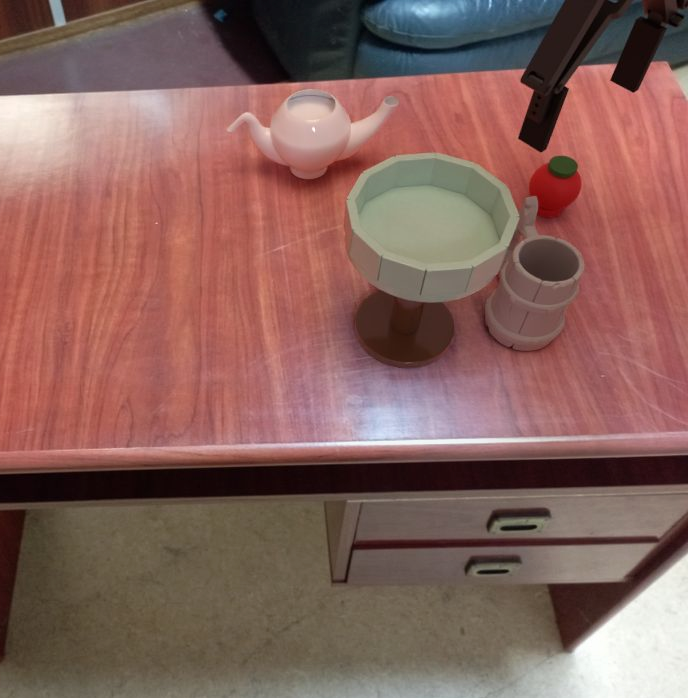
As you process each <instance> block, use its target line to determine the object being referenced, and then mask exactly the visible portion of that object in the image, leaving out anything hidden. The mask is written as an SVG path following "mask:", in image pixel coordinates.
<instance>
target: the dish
mask: <svg viewBox="0 0 688 698" xmlns="http://www.w3.org/2000/svg"><path fill="white" fill-rule="evenodd" d="M518 211H519V210H518V209H517V205H516V203H515V201H514V199H513V196H512V194H511V191H510V189H509V187H508V185H507V184H505V183H504V182H503V181H502V180H500V179H499V178H497V177H496V176H495V175H493V174H492V173H491V172H489V171H488V170H487V169H485V167H483V166H482V165H480V164H479V163H476V162H475V161H471V160H468V159H464V158H459V157H456V156H452V155H449V154H445V153H440V152H435V151H433V152H420V153H418V152H417V153H408V154H407V153H406V154H396V155H395V156H394V155H393V156H390V157H388V158H386V159H385V160H383V161H381V162H379V163H377V164H374V165H373V166H371V167H369V168H367V169H365V170H363V171H362V172H361V173H360V174H359V176H358V177H357V179H356V181H355V182H354V184H353V186H352V188H351V190H350V191H349V193H348V195H347V196H346V199H345V206H344V215H343V217H344V218H343V225H342V227H343V231H344V248H345V251H346V255H347V257H348V260H349V261H350V263H351V265H352V266H353V268H354V269H355V271H356V272H357V273H358V274H359V275H360V276H361V277H362V278H363V279H364V280H365V281H366V282H368V284H371V285H372V286H373V287H375V288H377V290H375V291H374V292H372V293H371V294H369V295H368V296H366V297H365V299H364V300H363V301H362V302H361V303H360V304H359V306H358V308H357V310H356V313H355V319H354V332H355V336H356V339H357V341H358V343H359V344H360V346H361V347H362V348H363V350H364V351H365V352H366V353H367V354H368V355H369V356H371V357H372V358H373V359H375V360H376V361H378V362H380V363H382V364H384V365H387V366H391V367H395V368H400V369H401V368H402V369H414V368H422V367H425V366H428V365H430V364H432V363H435V362H436V361H438V360H440V358H442V356H444V355H445V354H446V352H447V351H448V350H449V348H450V346H451V344H452V342H453V341H452V340H453V337H454V333H455V323H454V319H453V316H452V314H451V312H450V310H449V308H448V307H447V306H446V305H445V302H453V301H456V300H460V299H464V298H466V297H469V296H472V295H473V294H475V293H477V292H479V291H481V290H483V288H485V287H487V286H488V285H489V284H490V283H491V282H492V281H493V280H494V279H495V278H496V276H497V275H498V273H500V272H499V271H500V268H501V266H502V264H503V261H504V258H505V256H506V253H507V251H508V248H509V246H510V243H511V240H512V238H513V235H514V232H515V230H516V227H517V224H518V222H519V219H520V218H519V217H520V216H519V213H518Z"/></svg>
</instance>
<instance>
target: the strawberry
mask: <svg viewBox="0 0 688 698" xmlns="http://www.w3.org/2000/svg"><path fill="white" fill-rule="evenodd" d="M578 169H579V164H578V162H577V161H576V159H574V158H572V157H571V156H567V155H555V156H553V157H551V158H550V159H549V161H548V162H547V163H545V164H542V165H541V166H539V167H538V168H537V169H536V170H535V171H534V172H533V174H532V175H531V177H530V180H529V183H528V192H529V193H528V194H529V197H531V196H536V197H537V199H538V211H537V215H538V216H539V217H543V218H555V217H558V216H559V215H561V213H562V212H563V210H564V209H565V208H567V207H569V206H571V204H572V203H574V202H575V201H576V199H577V198H578V197H579V195H580V192H581V190H582V177H581V174H580V173H579V171H578Z"/></svg>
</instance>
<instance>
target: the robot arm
mask: <svg viewBox="0 0 688 698" xmlns="http://www.w3.org/2000/svg"><path fill="white" fill-rule="evenodd" d="M634 1H635V0H615V2H613V1H611V0H563V3H562V5H561V6H560V8H559V10H558V12H557V13H556V15H555V17H554V19H553V20H552V22H551V24H550V26H549V27H548V29H547V31H546V32H545V34H544V36H543V38H542V40H541V42H540V43H539V45H538V47H537V48H536V50H535V52H534V54H533V55H532V58H531V59H530V61H529V63H528V65H527V66H526V69H525V71H523V74H522V75H521V78H520V81H519V82H520V83H521V84H522V85H524V86H526V87H527V88H529V89H531V90H533V92H532V95H531V97H530V101H529V103H528V107H527V110H526V112H525V115H524V119H523V122H522V125H521V128H520V130H519V134H518V137H517V139H518V140H520V141H521V142H522V143H524V144H526V145H527V146H529V147H531V149H532V148H533V149H534V150H536V151H537V152H539V154H540V153H543V152H545V151H546V150H547V149H548V146H549V143H550V142H551V138H552V136H553V132H554V130H555V129H556V125H557V123H558V119H559V117H560V114H561V112H562V109H563V106H564V104H565V101H566V98H567V96H568V93H569V91H570V88H568V87H567V86H566V85H567V83H568V82H569V81H570V79H571V78H572V77H573V75H574V74H575V72H576V70H578V68H579V67H580V65H581V64H582V63H583V61H584V60H585V58H586V57H587V56H588V55H589V53H590V51H591V50H592V49H593V48H594V46H595V44H596V43H597V42H598V40H599V39H600V38H601V36H602V35H603V34H604V32H605V31H606V29H608V27H609V25H610V24H611V23H612V22H613V20H616V19H620V18H621V17H623V16H624V15H625V13H626V12H627V11H628V9H629V8H630V6H631V5H632V4H633V2H634ZM641 2H642V8H643V13H644V15H646V16H647V17H644V16H642V15H641V16H639V17H638V18H636V19H635V21H634V23H633V26H632V28H631V29H630V30H631V31H630V32H629V34H628V37H627V40H626V42H625V44H624V46H623V49H622V51H621V53H620V56H619V58H618V61H617V62H616V65H615V68H614V70H613V73H612V75H611V77H610V78H609V79H610V80H609V81H610V82H612V83H614V84H616V85H617V86H619V87H621V88H624V90H627V91H629V92H631V93H633V94H634V93H636V92H637V91H639V90H640V87H641V85H642V83H643V80H644V79H645V77H646V74H647V72H648V70H649V68H650V66H651V63H652V62H653V59H654V57H655V55H656V53H657V50H658V48H659V47H660V44H661V43H662V41H663V38H664V36H665V34H666V32H667V29H668V27H667V26H669V27H672V28H674V29H677V28H679V27H680V26H681V25H682V23H683V22H684V20H685V18H686V15H685V14H683V13H681V12H678V11H679V10H681V11H686V10H687V9H688V0H641Z"/></svg>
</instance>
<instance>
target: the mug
mask: <svg viewBox="0 0 688 698" xmlns="http://www.w3.org/2000/svg"><path fill="white" fill-rule="evenodd" d="M517 211H518V213H519V216H520V217H519V218H520V219H519V222H518V224H517V227H516V230H515V232H514V235H513V238H512V240H511V243H510V246H509V248H508V251H507V253H506V256H505V258H504V261H503V264H502V266H501V268H500V271H499V272H498V273H499V282H498V284H497V287H496V289H494V290H493V291H492V293H491V294H490V295H489V297H488V298H487V299H486V302H485V306H484V315H485V316H484V320H485V326H487V328H488V333H489V334H490V335H491V336H492V337H493V338H494V339H495V340H496V341H497V342H498V343H499V344H501V345H503V346H505V347H507V348H510V347H512V350H516V351H521V352H528V351H529V352H531V351H532V352H533V351H537V350H540V349H543V348H545V347H546V346H548V345H549V344H550V343H551V342H552V341H554V340H555V339H556V338H557V337H558V336H559V335H560V334H561V332H562V330H563V329H564V328H565V325H566V322H565V321H566V311H567V309H568V308H569V307H570V306H571V305H572V304H573V302H574V301H575V299H576V298H577V297H578V295H579V290H580V285H579V283H580V280H581V279H582V277H583V274H584V272H585V266H586V265H585V261H584V258H583V255H582V253H581V251H579V249H578V248H577V247H576V246H574V245H573V244H572V243H570V242H569V241H567V240H565V239H562V238H560V237H555V236H553V235H550V234H549V235H548V234H547V235H546V234H539V231H538V229H537V228H536V220H537V215H538V214H537V211H538V199H537V197H536V196H527V197H525V198H524V200H523V203H522V205H521V207H520V209H518V210H517ZM521 237H522V238H523V240H521V241H520V239H521Z"/></svg>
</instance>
